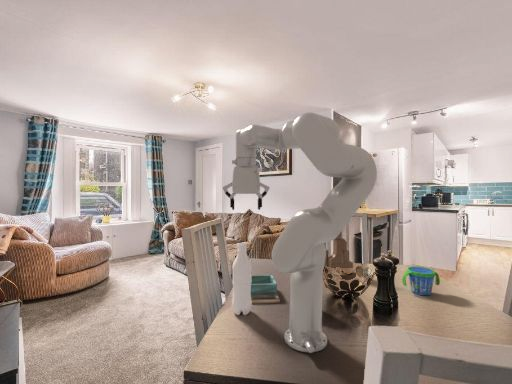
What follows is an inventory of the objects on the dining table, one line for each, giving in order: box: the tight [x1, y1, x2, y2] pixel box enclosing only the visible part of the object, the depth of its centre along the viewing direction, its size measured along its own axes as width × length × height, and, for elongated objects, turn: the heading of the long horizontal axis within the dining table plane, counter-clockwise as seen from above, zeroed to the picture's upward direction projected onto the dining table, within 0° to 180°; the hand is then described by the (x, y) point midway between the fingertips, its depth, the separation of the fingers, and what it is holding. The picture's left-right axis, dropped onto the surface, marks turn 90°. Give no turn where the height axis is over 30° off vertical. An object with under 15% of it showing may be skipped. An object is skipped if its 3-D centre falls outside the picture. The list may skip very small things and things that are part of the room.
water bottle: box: [231, 243, 253, 316], centre depth 99 cm, size 7×7×25 cm
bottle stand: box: [251, 274, 281, 305], centre depth 115 cm, size 16×13×6 cm
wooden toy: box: [324, 230, 354, 269], centre depth 144 cm, size 16×7×25 cm, turn 109°
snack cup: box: [401, 266, 441, 296], centre depth 118 cm, size 16×10×10 cm
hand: (246, 209), depth 100 cm, fingers open, 9 cm apart
